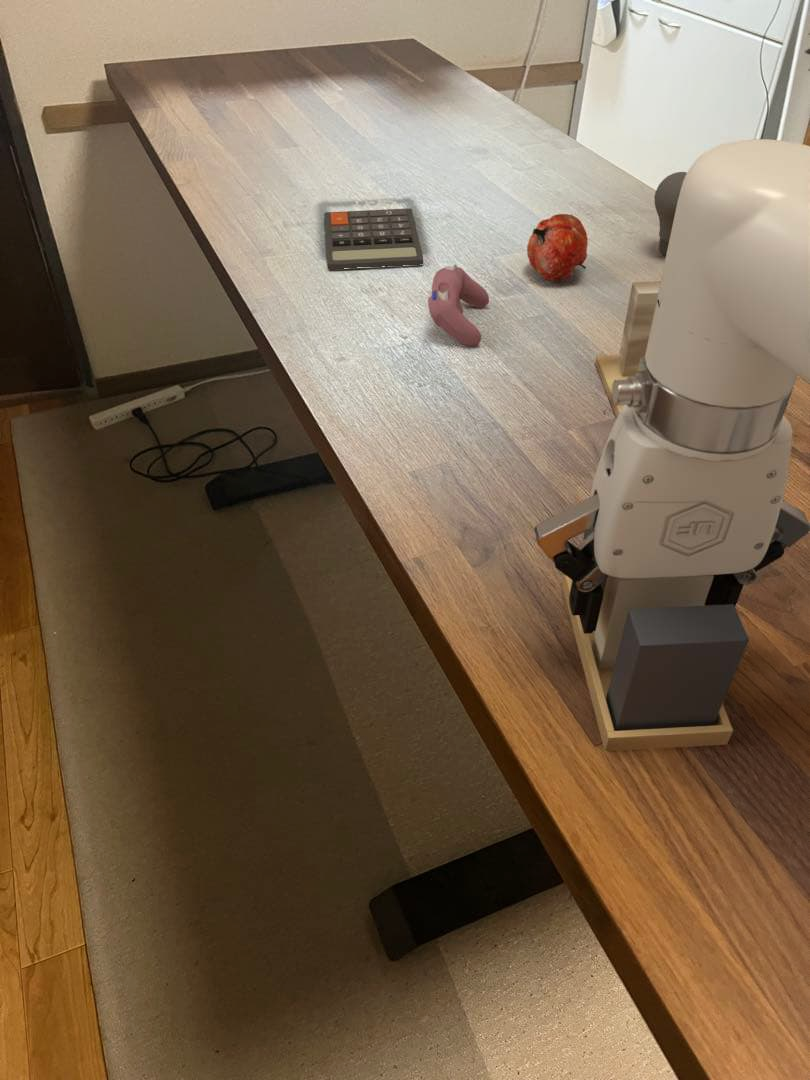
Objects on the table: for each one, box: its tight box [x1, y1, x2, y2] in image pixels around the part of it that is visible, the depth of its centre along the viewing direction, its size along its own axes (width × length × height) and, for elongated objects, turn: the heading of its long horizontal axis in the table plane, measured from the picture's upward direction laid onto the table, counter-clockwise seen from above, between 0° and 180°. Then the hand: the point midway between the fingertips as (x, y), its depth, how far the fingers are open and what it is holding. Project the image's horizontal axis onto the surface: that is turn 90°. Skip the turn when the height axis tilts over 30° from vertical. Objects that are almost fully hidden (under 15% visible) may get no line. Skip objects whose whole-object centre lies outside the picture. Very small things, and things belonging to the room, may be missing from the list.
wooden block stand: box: [594, 280, 661, 419], centre depth 79 cm, size 17×9×10 cm, turn 3°
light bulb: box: [653, 171, 688, 257], centre depth 103 cm, size 6×6×10 cm
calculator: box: [323, 208, 424, 271], centre depth 109 cm, size 12×1×15 cm
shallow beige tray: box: [560, 572, 734, 752], centre depth 60 cm, size 15×8×2 cm, turn 3°
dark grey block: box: [606, 604, 750, 731], centre depth 54 cm, size 3×6×10 cm, turn 93°
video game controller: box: [427, 264, 490, 347], centre depth 93 cm, size 10×5×7 cm, turn 170°
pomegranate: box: [526, 213, 589, 283], centre depth 101 cm, size 7×7×10 cm
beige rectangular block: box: [592, 575, 714, 670], centre depth 58 cm, size 2×6×9 cm, turn 93°
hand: (648, 613), depth 58 cm, fingers open, 8 cm apart
